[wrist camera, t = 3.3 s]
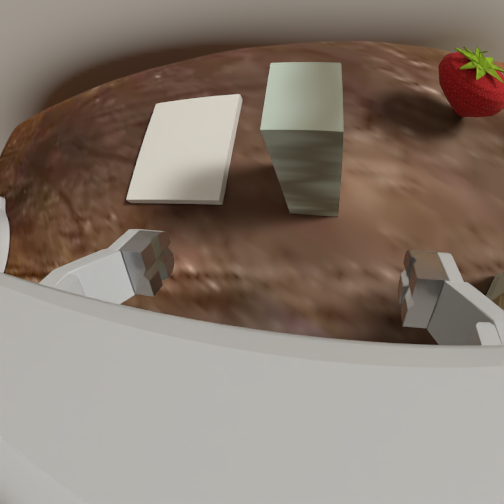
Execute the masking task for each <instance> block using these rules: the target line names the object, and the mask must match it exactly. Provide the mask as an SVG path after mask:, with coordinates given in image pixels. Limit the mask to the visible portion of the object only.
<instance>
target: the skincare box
mask: <svg viewBox="0 0 504 504" xmlns="http://www.w3.org/2000/svg"><path fill="white" fill-rule="evenodd" d="M486 297H487V298H489V299H490V300H491V301H492V302H494V303H495V304H496V305H497V306H499V307H500V308H501V309H502V310H503V311H504V272H503V273H501V274H497V275H496V276H495V278H494V280H493V282H492V284H491V286H490V288H489V290H488V292H487V294H486Z"/></svg>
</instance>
